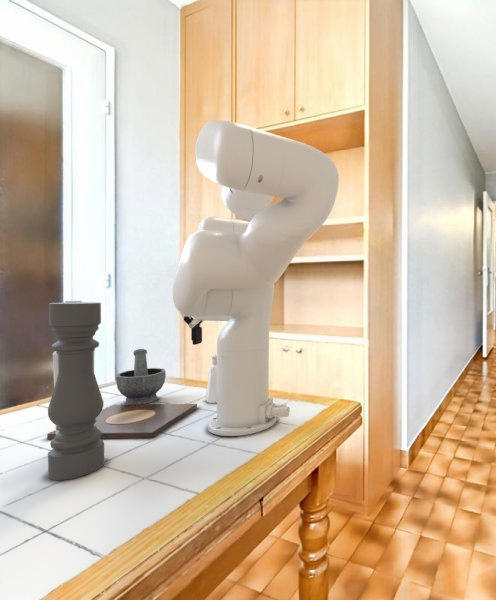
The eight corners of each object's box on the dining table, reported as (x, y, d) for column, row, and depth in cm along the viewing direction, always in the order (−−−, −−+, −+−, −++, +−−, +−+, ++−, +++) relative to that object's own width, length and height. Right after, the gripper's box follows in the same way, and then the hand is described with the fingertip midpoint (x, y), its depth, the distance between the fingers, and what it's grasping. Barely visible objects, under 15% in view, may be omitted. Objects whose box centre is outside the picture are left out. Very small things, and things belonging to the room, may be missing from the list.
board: (197, 408, 79) (197, 403, 79) (152, 437, 63) (152, 431, 63) (114, 408, 78) (114, 403, 78) (47, 439, 62) (46, 433, 62)
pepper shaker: (204, 404, 82) (204, 358, 82) (206, 397, 87) (206, 354, 87) (229, 401, 84) (229, 356, 84) (230, 395, 89) (230, 352, 89)
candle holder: (55, 485, 48) (53, 304, 47) (42, 472, 51) (39, 302, 51) (111, 466, 53) (109, 303, 53) (95, 455, 56) (94, 302, 56)
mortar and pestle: (167, 402, 83) (166, 352, 83) (116, 410, 77) (115, 356, 77) (162, 391, 92) (162, 346, 91) (116, 397, 86) (116, 349, 85)
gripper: (259, 275, 89) (258, 342, 90) (189, 273, 88) (189, 341, 89) (248, 274, 82) (248, 347, 82) (172, 272, 80) (172, 346, 81)
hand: (217, 344), depth 85 cm, fingers open, 9 cm apart
